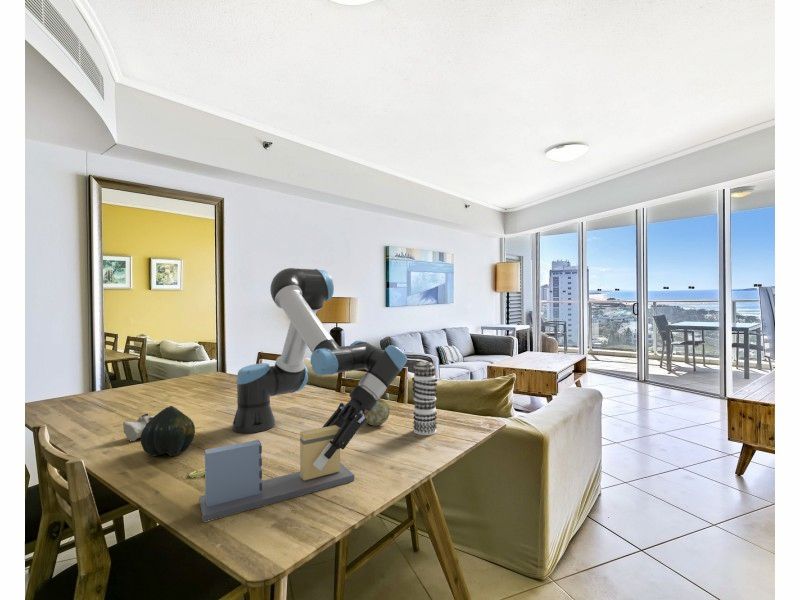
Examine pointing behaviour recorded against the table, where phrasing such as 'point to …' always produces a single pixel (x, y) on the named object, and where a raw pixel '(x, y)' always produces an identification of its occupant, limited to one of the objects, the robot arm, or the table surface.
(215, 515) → the base
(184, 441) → the squash
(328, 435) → the tan cardboard parcel
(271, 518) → the table surface
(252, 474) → the blue square panel
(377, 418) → the seashell
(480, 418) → the table surface
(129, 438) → the ceramic sculpture
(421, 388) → the white patterned cylinder
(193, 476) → the key
